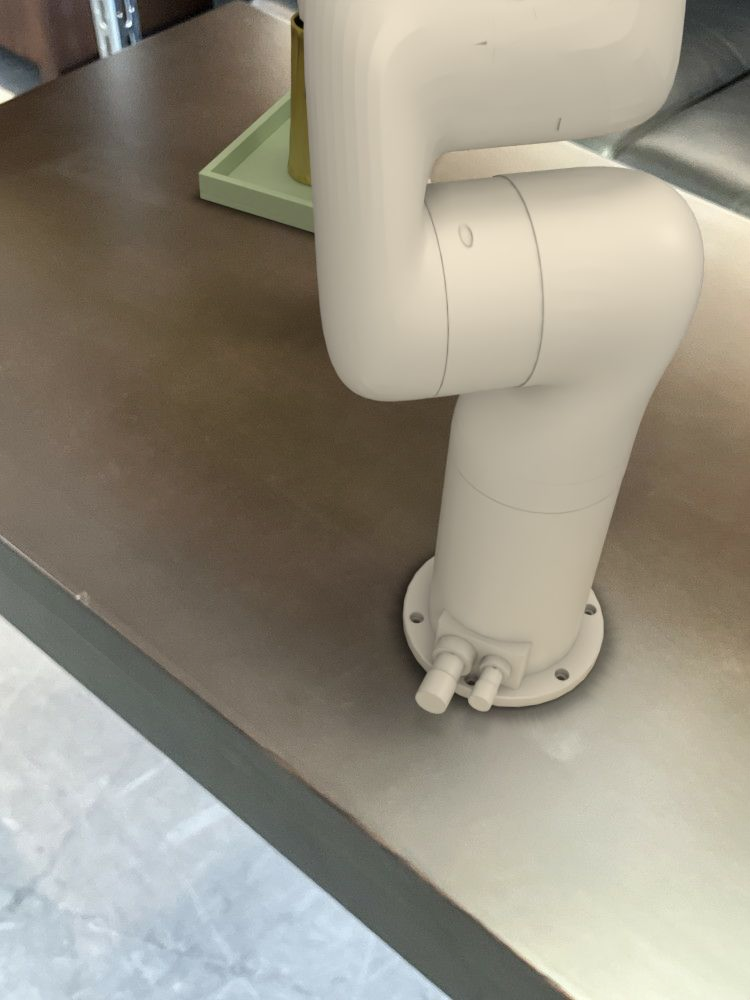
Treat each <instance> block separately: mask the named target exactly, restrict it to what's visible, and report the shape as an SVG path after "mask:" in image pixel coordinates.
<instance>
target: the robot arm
mask: <svg viewBox="0 0 750 1000" xmlns="http://www.w3.org/2000/svg"><path fill="white" fill-rule="evenodd" d="M296 2H297V8H298V11H299V16H300V19H301V20H302V21H303V22H304V73H305V99H306V105H307V121H308V137H309V153H310V169H311V184H312V200H313V216H314V232H315V233H314V246H315V247H314V249H315V261H316V262H315V263H316V265H315V266H316V278H317V290H318V302H319V313H320V321H321V327H322V333H323V337H324V341H325V342H324V343H325V346H326V350H327V353H328V357H329V359H330V362H331V365H332V367H333V369H334V371H335V373H336V375H337V376H338V378H339V379H340V381H341V382H342V383H343V384H344V386H346V388H348V389H349V390H350V391H351V392H352V393H355V394H356V395H358V396H360V397H362V398H364V399H369V400H372V401H378V402H392V403H393V402H404V401H416V400H425V399H426V400H427V399H434V398H443V397H450V396H457V395H458V397H457V400H456V402H455V406H454V410H453V414H452V417H451V422H450V430H449V431H450V432H449V438H448V439H449V440H448V446H447V453H446V454H447V456H446V462H445V471H444V477H443V478H444V479H443V486H442V495H441V501H440V503H441V504H440V510H439V511H440V512H439V520H438V527H437V536H436V543H435V550H434V556H432V557H430V558H429V559H428V560H427V561H425V562H424V563H423V564H422V565H421V567H420V568H419V569H418V570H416V572H415V574H414V575H413V577H412V579H411V581H410V583H409V584H408V586H407V590H406V593H405V596H404V600H403V608H402V624H403V632H404V636H405V639H406V642H407V645H408V647H409V649H410V651H411V653H412V654H413V656H414V658H415V660H416V661H417V663H418V664H419V665H420V666H421V667H422V668H423V669H424V671H425V672H426V674H425V676H424V677H423V680H422V682H421V684H420V686H419V687H418V689H417V691H416V693H415V696H414V697H415V699H414V700H415V702H416V703H417V705H418V706H419V707H420V708H422V709H423V710H424V711H427V712H429V713H430V714H434V715H441V714H444V713H445V712H446V710H447V708H448V707H449V704H450V702H451V700H452V698H453V696H454V694H457V695H458V696H460V697H463V698H466V699H467V701H468V704H469V705H470V707H471V708H472V709H475V711H477V712H478V711H479V712H483V713H484V712H489V710H490V709H491V707H492V706H495V707H507V708H508V707H509V708H521V707H528V706H529V707H530V706H536V705H540V704H544V703H546V702H550V701H554V700H556V699H558V698H560V697H562V696H563V695H566V694H567V693H569V692H571V691H572V690H574V689H575V688H576V687H577V686H578V685H580V684H581V683H582V682H583V681H584V680H585V679H586V677H587V676H588V675H589V673H590V672H591V671H592V669H593V668H594V666H595V664H596V661H597V659H598V657H599V655H600V651H601V649H602V648H601V647H602V644H603V641H604V636H605V635H604V632H605V631H604V627H605V626H604V625H605V622H604V617H603V613H602V607H601V605H600V602H599V600H598V598H597V596H596V594H595V592H594V590H593V589H592V586H593V583H594V581H595V580H594V579H595V575H596V573H597V569H598V565H599V561H600V558H601V555H602V553H603V549H604V544H605V541H606V539H607V534H608V530H609V527H610V524H611V521H612V517H613V513H614V510H615V506H616V503H617V499H618V496H619V493H620V489H621V485H622V482H623V479H624V476H625V475H626V471H627V467H628V464H629V461H630V457H631V455H632V454H631V453H632V450H633V447H634V444H635V441H636V437H637V434H638V431H639V429H640V428H639V427H640V425H641V422H642V420H643V417H644V414H645V412H646V409H647V406H648V405H649V402H650V401H651V398H652V396H653V394H654V392H655V390H656V388H657V385H659V382H660V380H661V379H662V377H663V375H664V373H665V372H666V370H667V369H668V367H669V365H670V364H671V362H672V360H673V359H674V357H675V356H676V354H677V352H678V350H679V348H680V346H681V344H682V343H683V341H684V338H686V336H687V333H688V332H689V329H690V326H691V324H692V322H693V319H694V316H695V313H696V311H697V308H698V304H699V301H700V298H701V293H702V287H703V283H704V275H705V250H704V242H703V241H704V240H703V237H702V233H701V229H700V226H699V225H700V224H699V222H698V220H697V217H696V216H695V213H694V211H693V210H692V208H691V206H690V205H689V203H688V202H687V200H686V199H685V198H684V197H683V196H682V195H681V194H680V193H679V192H678V191H677V190H676V188H674V187H673V186H671V184H668V183H667V182H666V181H664V180H663V179H661V178H659V177H657V176H656V175H652V174H650V173H647V172H645V171H641V170H638V169H632V168H627V167H619V166H605V165H604V166H603V165H600V166H599V165H596V166H594V165H593V166H575V167H574V166H573V167H564V168H554V169H543V170H534V171H532V170H531V171H524V172H523V171H522V172H512V173H511V172H510V173H502V174H495V175H492V176H489V177H480V178H472V179H471V178H470V179H469V178H468V179H459V180H451V181H440V182H439V181H438V182H431V183H428V184H427V182H428V179H429V178H430V175H431V171H432V169H433V167H434V166H435V164H436V162H437V160H438V159H439V158H440V157H442V156H443V155H446V154H448V153H453V152H464V151H473V150H474V151H475V150H486V149H496V148H507V147H518V146H528V145H538V144H548V143H558V142H559V143H560V142H566V141H567V142H568V141H577V140H583V139H591V138H597V137H603V136H608V135H612V134H616V133H620V132H623V131H627V130H628V129H632V128H634V127H637V126H639V125H642V124H643V123H644V122H646V121H647V120H650V118H651V117H653V116H655V115H656V114H657V113H658V111H660V110H661V109H662V107H663V106H664V104H665V103H666V101H667V99H668V96H669V95H670V92H671V90H672V88H673V86H674V83H675V80H676V76H677V72H678V68H679V64H680V57H681V51H682V50H681V49H682V44H683V34H684V25H685V14H686V6H687V4H686V3H687V0H297V1H296Z"/></svg>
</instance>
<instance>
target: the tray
mask: <svg viewBox="0 0 750 1000" xmlns="http://www.w3.org/2000/svg"><path fill="white" fill-rule="evenodd" d="M290 109H291V89H289V90H288V91H287V92H286V93H285V94H284V95H283V96H282V97H280V98H279V99H278V100H277V101H276V102H275V103H274V104H273V105H271V106H270V107H269V108H268V109H267V110H266V111H265V112H264V113H263V114H262V115H260V117H258V119H256V120H255V121H254V122H253V123H252V124H251V125H250V126H248V128H246V129H245V130H244V131H243V132H242V133H241V134H240V135H239V136H237V138H235V139H234V140H233V141H232V142H231V143H229V145H227V146H226V147H225V148H224V149H223V150H222V151H220V152H219V154H218V155H216V156H215V158H213V159H212V160H211V161H210V162H209V163H208V164H207V165H205V167H203V168H202V169H201V170H200V171H199V172H198V185H199V186H198V187H199V198H200V199H202V200H205V201H207V202H212V203H214V204H219V205H221V206H225V207H227V208H231V209H234V210H237V211H241V212H244V213H248V214H251V215H254V216H258V217H261V218H264V219H267V220H271V221H273V222H277V223H281V224H284V225H287V226H290V227H293V228H297V229H300V230H303V231H307V232H310V233H312V234H315V232H314V216H313V200H312V186H311V185H307V184H303V183H301V182H299V181H297V180H295V179H294V178H293V177H292V176H291V175H290V174H289V172H288V169H287V165H288V159H289V138H290Z"/></svg>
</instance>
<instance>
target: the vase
mask: <svg viewBox="0 0 750 1000" xmlns="http://www.w3.org/2000/svg"><path fill="white" fill-rule="evenodd" d="M290 90H291V109H290V138H289V159H288V165H287V169H288V172H289V174H290V175H291V176H292V177H293V178H294V179H295V180H297V181H299V182H301V183H303V184H307V185H311V186H312V184H311V169H310V153H309V137H308V121H307V105H306V99H305V73H304V22H303V21H302V20H301V19H300V16H299V10H298V11H296V12H295V13H294V14H292V16H291V17H290Z"/></svg>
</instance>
